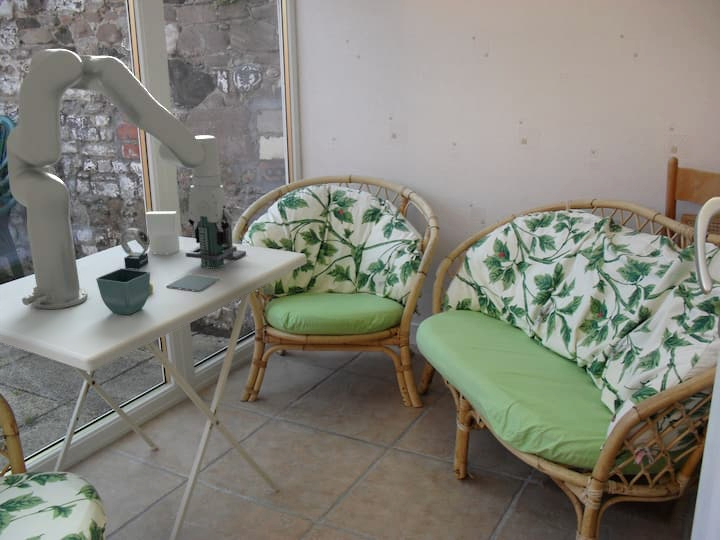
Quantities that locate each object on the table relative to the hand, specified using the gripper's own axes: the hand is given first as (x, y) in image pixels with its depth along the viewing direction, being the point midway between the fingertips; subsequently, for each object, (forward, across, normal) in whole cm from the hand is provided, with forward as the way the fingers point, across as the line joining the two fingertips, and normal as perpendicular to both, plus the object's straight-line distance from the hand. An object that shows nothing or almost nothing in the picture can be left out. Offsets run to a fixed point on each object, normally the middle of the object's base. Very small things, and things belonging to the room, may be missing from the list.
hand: (211, 242), depth 189 cm
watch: (+7, -20, -8) cm, 23 cm away
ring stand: (+7, 0, +4) cm, 8 cm away
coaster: (+7, +4, -16) cm, 18 cm away
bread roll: (+7, -6, -27) cm, 29 cm away
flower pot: (+7, 0, -38) cm, 39 cm away
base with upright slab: (+7, -22, +8) cm, 24 cm away
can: (+7, 0, 0) cm, 7 cm away
